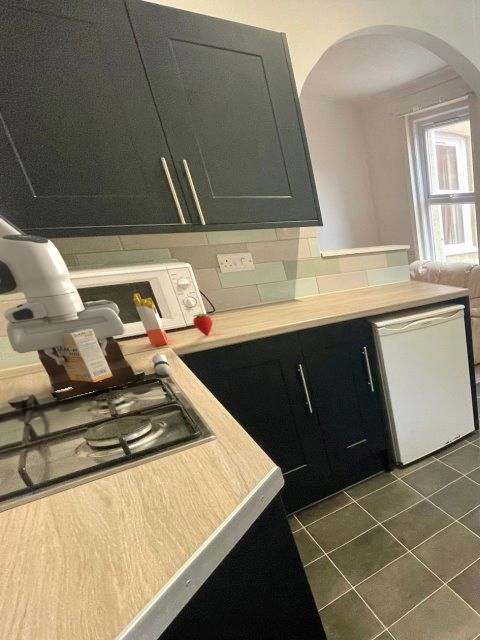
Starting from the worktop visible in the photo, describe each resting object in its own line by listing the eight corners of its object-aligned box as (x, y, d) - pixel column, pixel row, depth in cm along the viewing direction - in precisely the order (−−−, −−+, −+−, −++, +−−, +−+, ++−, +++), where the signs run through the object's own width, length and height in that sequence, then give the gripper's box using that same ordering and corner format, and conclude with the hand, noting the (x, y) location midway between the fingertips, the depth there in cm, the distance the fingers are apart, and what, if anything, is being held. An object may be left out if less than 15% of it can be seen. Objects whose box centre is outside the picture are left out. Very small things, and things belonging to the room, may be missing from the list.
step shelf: (60, 401, 109) (24, 335, 101) (55, 384, 120) (22, 323, 113) (138, 381, 119) (110, 320, 112) (126, 367, 131) (101, 310, 124)
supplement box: (69, 381, 107) (45, 331, 102) (91, 374, 111) (68, 326, 106) (93, 383, 105) (69, 333, 100) (114, 376, 109) (92, 327, 104)
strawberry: (214, 331, 165) (206, 306, 161) (218, 335, 160) (209, 309, 156) (196, 335, 162) (187, 309, 158) (200, 338, 156) (190, 312, 152)
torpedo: (175, 374, 123) (167, 353, 121) (155, 379, 121) (146, 357, 118) (169, 359, 136) (162, 340, 133) (151, 363, 133) (143, 344, 130)
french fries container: (169, 338, 159) (150, 291, 151) (168, 345, 150) (148, 295, 143) (154, 341, 156) (134, 293, 149) (152, 348, 148) (131, 297, 141)
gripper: (112, 296, 110) (133, 346, 115) (-5, 312, 96) (25, 368, 101) (115, 299, 106) (137, 351, 111) (-6, 316, 92) (25, 374, 97)
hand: (83, 359), depth 106 cm, fingers closed on supplement box, 6 cm apart
